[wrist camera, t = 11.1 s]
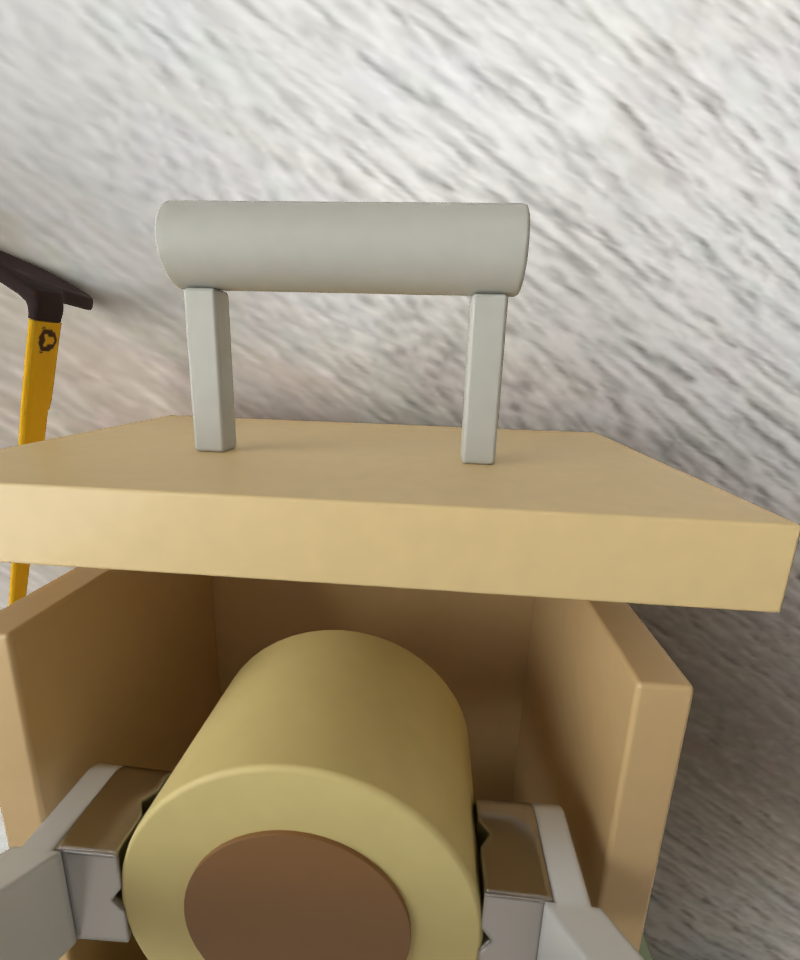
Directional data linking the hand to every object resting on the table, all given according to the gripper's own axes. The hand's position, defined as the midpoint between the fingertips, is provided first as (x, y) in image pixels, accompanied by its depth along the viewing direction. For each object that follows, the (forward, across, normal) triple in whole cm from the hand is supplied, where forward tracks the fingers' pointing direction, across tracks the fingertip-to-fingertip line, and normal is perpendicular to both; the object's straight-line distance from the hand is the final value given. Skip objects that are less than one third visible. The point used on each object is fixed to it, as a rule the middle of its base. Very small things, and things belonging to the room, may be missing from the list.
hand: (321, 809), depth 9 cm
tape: (+2, 0, 0) cm, 2 cm away
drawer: (+7, 0, -1) cm, 7 cm away
